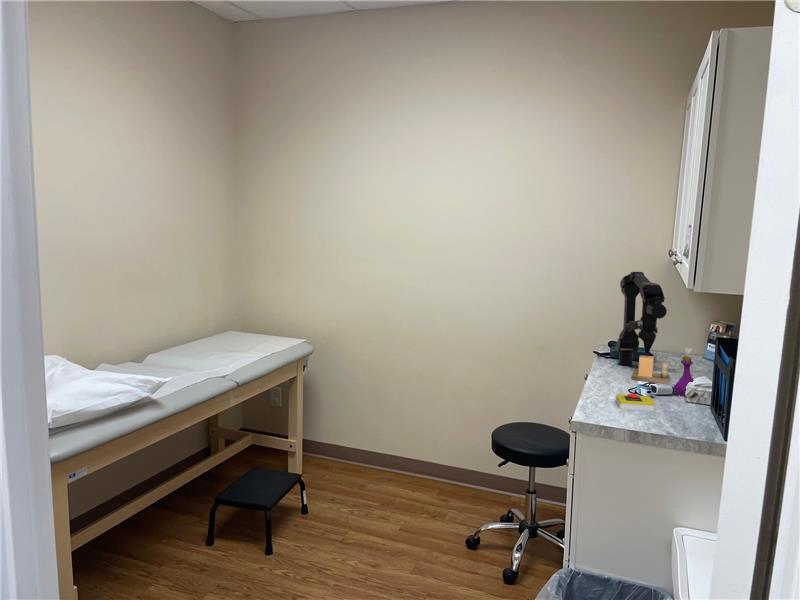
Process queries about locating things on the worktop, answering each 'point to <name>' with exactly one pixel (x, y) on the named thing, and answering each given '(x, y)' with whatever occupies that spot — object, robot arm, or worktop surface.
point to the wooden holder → (655, 375)
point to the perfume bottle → (684, 374)
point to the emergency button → (635, 403)
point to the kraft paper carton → (646, 366)
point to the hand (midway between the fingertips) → (647, 352)
